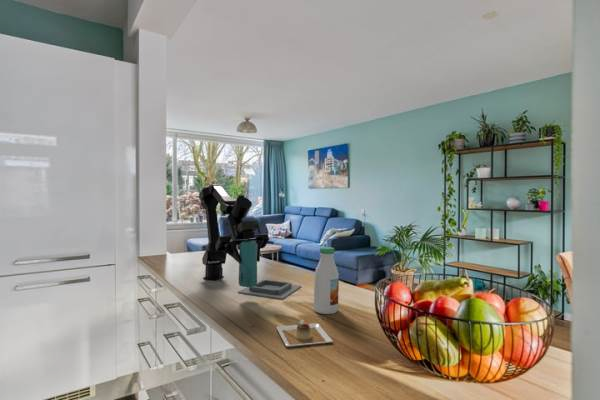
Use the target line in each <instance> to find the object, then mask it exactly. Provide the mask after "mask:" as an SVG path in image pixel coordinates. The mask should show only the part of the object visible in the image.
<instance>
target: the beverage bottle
mask: <svg viewBox="0 0 600 400" xmlns="http://www.w3.org/2000/svg"><path fill="white" fill-rule="evenodd" d="M243 238H250V239H254V238H256V236H255V231H253V232H252V231H245V232H243ZM257 246H258V245H257V243H256V242H255V241H242V242H241V243H240V244H239V245H238V247H239V250H238V252H239V255H240V258H241V264H239V263H238V282H237V283H238V286H240V287H243V288H247V287H253V286H256V284H257V282H258V263H259V262H258V261H257Z"/></svg>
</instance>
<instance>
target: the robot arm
mask: <svg viewBox="0 0 600 400" xmlns="http://www.w3.org/2000/svg"><path fill="white" fill-rule="evenodd" d="M198 199H199V201H200V205H201V207H202V208H203V209H204V210H205V211H204V212H205V219H206V228H207V230H206V231H207V237H208V238H207V239H208V241H207V242H208V243H207V245H206V247H205V251H204V254H203V256H202V260H201V261H202V262H201V263H202V264H203V265H204V266H205V271H204V272H205V276H203V277H202V279H203V280H212V281H217V280H221V279H222V278H225V277H224V276H225V275H223V265H225V264H226V260H227V255H229V256H230V257H231V258H233V259H234V260H235V261H236V262H237V263H238V265H239V264H241V258H240V255H239V249H238V246H239V244H240V243H241V242H242V241H255V242H256V243H257V245H258V246H257V263H259V262H260V260H261V259H260V258H261V249H264V248H265V247H266V246H267V245H268V242H269V241H270V237H269V234H267V233H258V234H257V235H256V236H255V238H243V232H245V231H252V232H255V231H256V230H258V229H259V228H260V224H259V221H258V220H257V219H253V220H244V219H245V218H247V216H248V214H249V212H250V210H251V207H252V205H253V204H252V201H251V200H250V199H249V198H247V197H245V195H242V194H239V195H238V196H237V198H236V197H232V196H230V195H229V193H228V192H227V191H226V190H225V189H224V187H223V185H222V184H219V183H218V184H215V183H211V184H209V185H208V186H207V187H204V188H202V189H201V190H200V191H199V193H198ZM219 204H220V205H219ZM218 205H219V211H220V212H221V214H222V215H224V216H225V215H226V216H227V217H226V226H229V230H230V233H229V235H220V229H219V222H218V213H217V211H218V210H217V207H218Z"/></svg>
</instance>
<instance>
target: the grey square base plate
mask: <svg viewBox="0 0 600 400" xmlns="http://www.w3.org/2000/svg"><path fill="white" fill-rule="evenodd" d="M300 288H302V285H298V284H292V282H289V281H288V282H287V281H281V280H274V279H261V280H260V281H257V284H256V286H253V287H243V289H240V290H239V291H237V293H238V294H242V295H248V296H256V297H263V298H269V299H274V300H275V299H276V300H282V301H283V300H284V299H285V298H287V297H289V296H290V295H291V294H293V293H295V292H296V291H298V290H299V289H300Z"/></svg>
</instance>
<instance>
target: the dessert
mask: <svg viewBox="0 0 600 400" xmlns="http://www.w3.org/2000/svg"><path fill="white" fill-rule="evenodd" d="M311 328H312V329H313V328H315V330H316V331H317V332H318V334H319V335H320V336H321V337H322V338H323V340H324V341H320V342H319V341H318V342H310V343H307V342H306V343H299V344H298V343H297V344H290V343H289V341H288V340H287V338H286V336H285V334H284V332H283V331H290V330H295V333H294V338H295V339H297V340H301V341H302V340H303V341H305V340H309V339H312V337H313V335H312V331H311ZM276 331H277V332H278V333H279V336H280V338H281V339H282V341H283V343H284V345H285V346H286V348H287V347H288V348H292V347H300V346H311V345H320V344H330V343H333V342H334V340H333V339H332V338H331V337H330V335H328V334H327V332H326V331H325V330H324V329H323V328H322V326H321V325H320V324H319V323H308V322H306V320H304V319H301V320H299V324H293V325H284V326H281V325H280V326H276Z"/></svg>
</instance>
